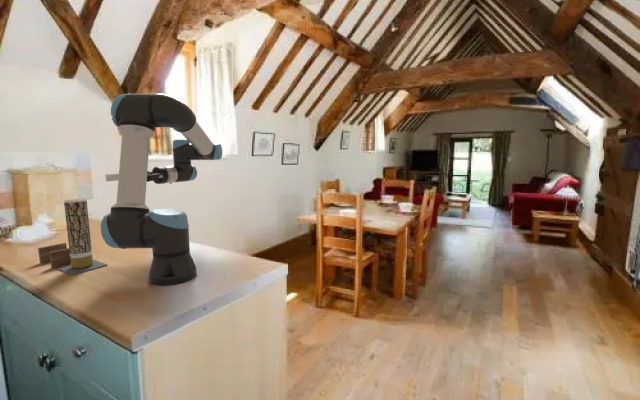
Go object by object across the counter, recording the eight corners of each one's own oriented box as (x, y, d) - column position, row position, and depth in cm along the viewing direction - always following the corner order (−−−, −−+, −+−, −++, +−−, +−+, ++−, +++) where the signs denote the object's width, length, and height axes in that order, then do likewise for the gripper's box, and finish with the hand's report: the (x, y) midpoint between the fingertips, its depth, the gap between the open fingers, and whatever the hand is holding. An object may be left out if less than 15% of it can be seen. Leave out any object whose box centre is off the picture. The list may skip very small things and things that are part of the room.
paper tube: (82, 269, 127) (75, 201, 123) (66, 268, 128) (58, 201, 125) (97, 263, 134) (91, 198, 130) (82, 262, 135) (75, 198, 131)
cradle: (79, 261, 137) (77, 246, 137) (52, 268, 130) (50, 252, 129) (66, 256, 144) (64, 242, 143) (40, 263, 136) (38, 248, 135)
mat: (107, 265, 133) (107, 264, 133) (71, 275, 123) (71, 274, 123) (92, 260, 139) (91, 259, 139) (56, 269, 129) (56, 268, 129)
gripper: (182, 184, 150) (133, 190, 132) (148, 181, 163) (100, 186, 146) (181, 167, 149) (131, 170, 131) (147, 165, 162) (98, 168, 144)
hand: (114, 178), depth 138 cm, fingers open, 13 cm apart
